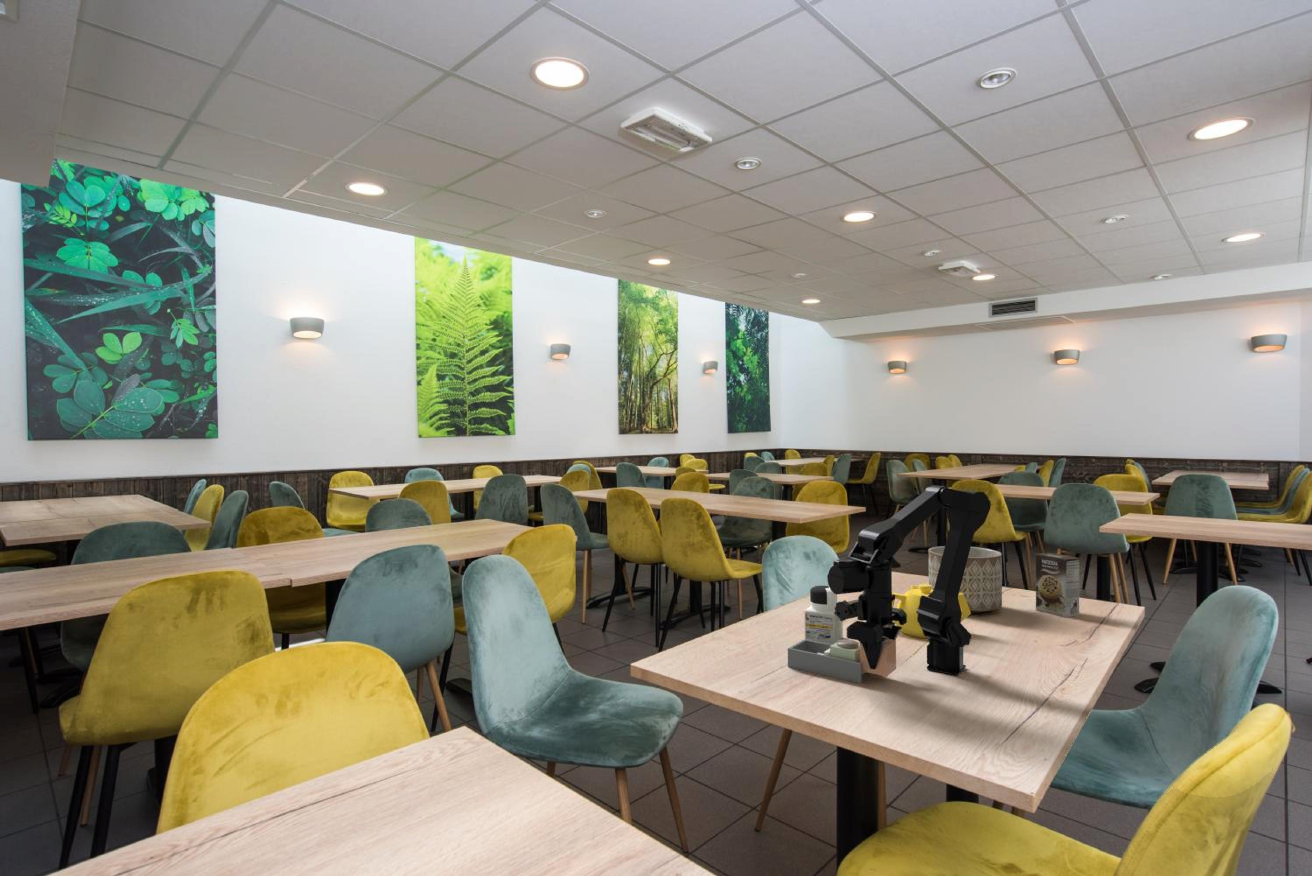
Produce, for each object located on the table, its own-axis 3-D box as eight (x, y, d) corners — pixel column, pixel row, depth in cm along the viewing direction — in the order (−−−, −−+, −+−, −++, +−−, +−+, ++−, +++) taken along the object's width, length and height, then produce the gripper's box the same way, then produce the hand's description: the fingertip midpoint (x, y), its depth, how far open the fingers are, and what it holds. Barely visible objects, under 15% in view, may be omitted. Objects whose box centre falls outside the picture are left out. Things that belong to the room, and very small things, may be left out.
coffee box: (1034, 610, 193) (1034, 553, 192) (1049, 607, 195) (1049, 551, 195) (1065, 617, 184) (1065, 559, 184) (1080, 615, 187) (1080, 557, 187)
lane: (875, 672, 144) (875, 653, 144) (860, 683, 138) (860, 663, 138) (804, 656, 154) (804, 639, 154) (787, 666, 148) (787, 648, 148)
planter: (1005, 604, 199) (1004, 549, 199) (998, 620, 182) (998, 559, 182) (935, 597, 209) (934, 544, 209) (923, 611, 193) (922, 553, 192)
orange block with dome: (870, 663, 144) (869, 632, 144) (896, 668, 140) (895, 637, 140) (860, 670, 139) (860, 639, 139) (886, 676, 136) (886, 643, 136)
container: (804, 641, 166) (804, 588, 166) (812, 633, 173) (812, 582, 172) (836, 645, 162) (835, 592, 162) (843, 637, 169) (842, 585, 169)
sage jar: (865, 672, 144) (864, 641, 144) (855, 680, 140) (855, 648, 140) (840, 667, 148) (840, 637, 148) (830, 674, 143) (829, 643, 143)
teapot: (973, 632, 172) (973, 585, 172) (941, 646, 161) (941, 596, 161) (912, 619, 185) (912, 575, 185) (878, 630, 174) (878, 584, 174)
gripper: (857, 577, 152) (857, 646, 152) (821, 593, 137) (822, 669, 137) (907, 583, 145) (907, 655, 145) (875, 601, 130) (876, 681, 130)
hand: (878, 664), depth 140 cm, fingers closed on orange block with dome, 5 cm apart
